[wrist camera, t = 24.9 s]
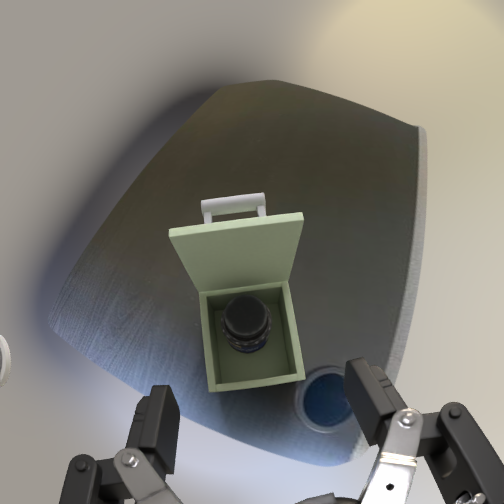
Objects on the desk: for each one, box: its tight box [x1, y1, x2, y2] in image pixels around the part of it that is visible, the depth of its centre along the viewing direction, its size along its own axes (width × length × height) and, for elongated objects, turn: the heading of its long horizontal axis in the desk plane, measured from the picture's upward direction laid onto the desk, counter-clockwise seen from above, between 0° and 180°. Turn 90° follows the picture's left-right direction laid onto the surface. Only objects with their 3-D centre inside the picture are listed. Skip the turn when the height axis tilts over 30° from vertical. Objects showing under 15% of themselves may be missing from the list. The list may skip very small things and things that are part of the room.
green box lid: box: [169, 193, 304, 292], centre depth 30 cm, size 14×11×5 cm
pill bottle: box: [221, 294, 272, 354], centre depth 35 cm, size 6×6×11 cm
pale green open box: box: [199, 281, 306, 392], centre depth 37 cm, size 13×11×8 cm
